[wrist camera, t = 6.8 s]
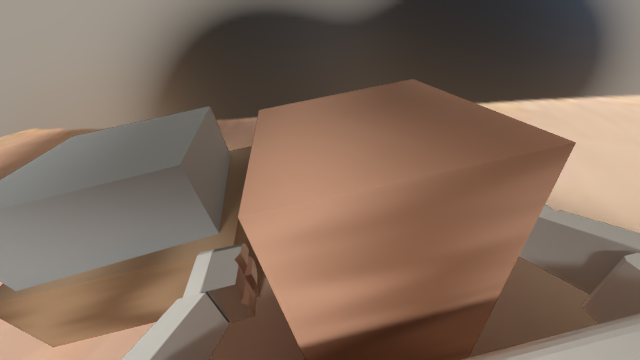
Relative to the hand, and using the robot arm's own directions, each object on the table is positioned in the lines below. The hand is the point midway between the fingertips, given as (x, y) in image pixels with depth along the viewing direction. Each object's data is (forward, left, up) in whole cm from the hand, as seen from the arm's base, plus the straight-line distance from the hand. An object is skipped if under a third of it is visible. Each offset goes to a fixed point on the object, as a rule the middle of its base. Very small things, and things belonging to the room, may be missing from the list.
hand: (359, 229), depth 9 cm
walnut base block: (-11, +7, -6) cm, 15 cm away
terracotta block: (0, -1, -6) cm, 6 cm away
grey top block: (-11, +7, -1) cm, 13 cm away
